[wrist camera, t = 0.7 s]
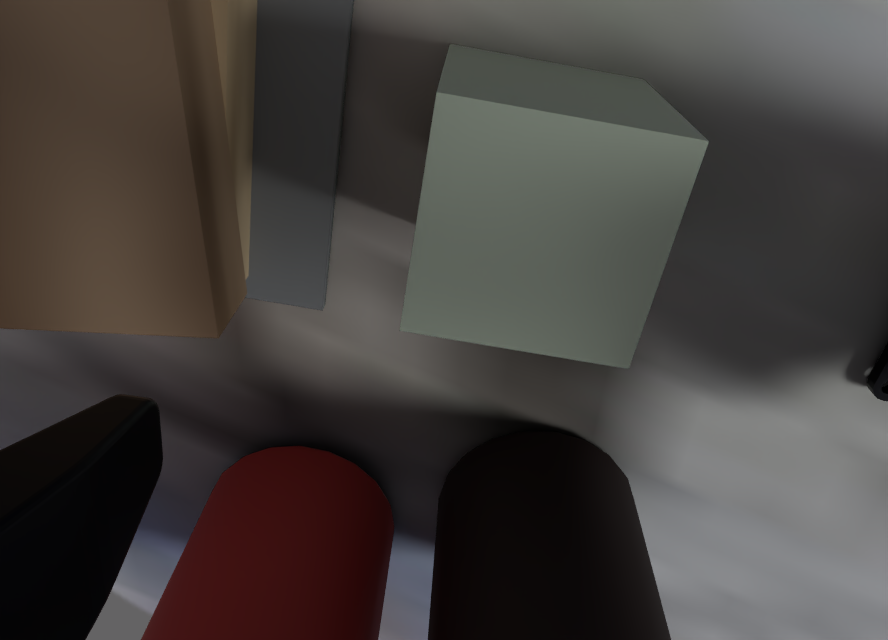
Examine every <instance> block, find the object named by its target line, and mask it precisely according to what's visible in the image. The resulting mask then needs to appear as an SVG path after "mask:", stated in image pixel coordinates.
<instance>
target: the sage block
mask: <svg viewBox="0 0 888 640" xmlns="http://www.w3.org/2000/svg"><path fill="white" fill-rule="evenodd" d="M708 143H709V141H708V140H707V139H706V138H705V137H704V136H703V135H702V134H701V133H700V132H699V131H698V130H697V129H696V128H695V127H694V126H693V125H691V124H690V123H689V122H688V121H687V120H686V119H685V118H684V117H683V116H682V115H681V114H680V113H679V112H678V111H677V110H676V109H675V108H673V107H672V106H671V105H670V104H669V103H668V102H667V101H666V100H665V99H664V98H663V97H662V96H661V95H660V94H659V93H658V92H657V91H656V90H654V89H653V88H652V87H651V86H650V85H649V84H648V83H647V82H646V81H645V80H644V79H640V78H635V77H629V76H624V75H618V74H613V73H607V72H602V71H596V70H591V69H585V68H580V67H575V66H569V65H564V64H558V63H553V62H547V61H542V60H536V59H531V58H525V57H520V56H515V55H509V54H504V53H498V52H493V51H487V50H482V49H476V48H471V47H465V46H460V45H455V44H450V45H449V49H448V52H447V56H446V60H445V63H444V67H443V71H442V74H441V78H440V81H439V85H438V89H437V92H436V99H435V105H434V112H433V118H432V125H431V131H430V137H429V144H428V150H427V157H426V163H425V170H424V176H423V182H422V189H421V195H420V202H419V208H418V214H417V221H416V227H415V234H414V240H413V247H412V253H411V259H410V266H409V272H408V279H407V285H406V292H405V298H404V304H403V311H402V317H401V324H400V330H399V331H403V332H409V333H415V334H421V335H427V336H433V337H439V338H445V339H451V340H457V341H463V342H469V343H475V344H481V345H487V346H493V347H499V348H505V349H511V350H517V351H523V352H529V353H535V354H541V355H547V356H553V357H559V358H565V359H571V360H577V361H583V362H589V363H595V364H601V365H607V366H613V367H619V368H625V369H629V367H630V364H631V361H632V359H633V356H634V353H635V350H636V347H637V344H638V342H639V339H640V336H641V333H642V330H643V327H644V325H645V322H646V319H647V316H648V313H649V310H650V308H651V305H652V302H653V299H654V296H655V293H656V290H657V288H658V285H659V282H660V279H661V276H662V273H663V271H664V268H665V265H666V262H667V259H668V256H669V254H670V251H671V248H672V245H673V242H674V239H675V237H676V234H677V231H678V228H679V225H680V222H681V220H682V217H683V214H684V211H685V208H686V205H687V202H688V200H689V197H690V194H691V191H692V188H693V185H694V183H695V180H696V177H697V174H698V171H699V168H700V166H701V163H702V160H703V157H704V154H705V151H706V149H707V146H708Z"/></svg>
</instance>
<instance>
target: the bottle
mask: <svg viewBox="0 0 888 640" xmlns="http://www.w3.org/2000/svg"><path fill="white" fill-rule="evenodd" d="M428 640H671V638H670V634H669V630H668V626H667V623H666V619H665V615H664V611H663V607H662V604H661V600H660V596H659V592H658V589H657V585H656V581H655V577H654V573H653V570H652V566H651V562H650V558H649V555H648V551H647V547H646V543H645V539H644V536H643V532H642V528H641V524H640V520H639V517H638V513H637V509H636V505H635V502H634V498H633V495H632V491H631V488H630V485H629V481H628V478H627V477H626V476H625V474H624V473H623V472H622V471H621V469H620V468H619V467H618V466H617V464H616V463H615V462H614V461H613V459H612V458H611V457H610V456H609V455H608V454H607V453H605V452H603V451H602V450H600V449H599V448H597V447H595V446H594V445H592V444H590V443H589V442H587V441H585V440H583V439H580V438H576V437H572V436H569V435H565V434H561V433H558V432H534V431H522V432H518V433H514V434H510V435H506V436H502V437H498V438H494V439H491V440H489V441H488V442H486V443H484V444H482V445H481V446H479V447H477V448H475V449H473V450H472V451H470V452H468V453H467V454H466V455H465V456H464V457H463V458H462V459H461V460H460V461H459V462H458V463H457V464H456V466H455V467H454V468H453V469H452V470H451V471H450V472H449V474H448V476H447V479H446V481H445V484H444V486H443V489H442V491H441V494H440V496H439V501H438V514H437V527H436V540H435V553H434V566H433V579H432V592H431V606H430V619H429V632H428Z"/></svg>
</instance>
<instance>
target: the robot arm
mask: <svg viewBox="0 0 888 640" xmlns="http://www.w3.org/2000/svg"><path fill="white" fill-rule="evenodd" d="M885 382H888V343H887V344H886V346H885V348H884V350H883V352H882V353H881V355H880V357H879V359H878V361H877V362H876V364H875V366H874V368H873V370H872V371H871V373H870V375H869V377H868V380H867V386H868V388H869V389H870V391H871V392H872V393H873V394H874V395H875V396H876V397H877V399H880V400H883V401H888V385H887V386H883V385H884V383H885ZM882 386H883V387H882ZM162 461H163V452H162V439H161V427H160V414H159V408H158V405H157V403H156V402H155V401H154V400H153V399H150V398H145V397H138V396H131V395H124V394H119V395H115V396H113V397H110V398H108V399H106V400H104V401H102V402H100V403H98V404H96V405H94V406H92V407H89V408H87V409H85V410H83V411H81V412H79V413H77V414H75V415H73V416H71V417H69V418H67V419H64V420H62V421H60V422H58V423H56V424H54V425H52V426H50V427H48V428H46V429H44V430H42V431H40V432H37V433H35V434H33V435H31V436H29V437H27V438H25V439H23V440H21V441H19V442H17V443H15V444H12V445H10V446H8V447H6V448H4V449H2V450H0V640H85V639H86V638H87V636H88V634H89V632H90V630H91V629H92V627H93V625H94V623H95V622H96V620H97V618H98V616H99V614H100V612H101V610H102V608H103V606H104V604H105V603H106V601H107V599H108V596H109V594H110V592H111V590H112V587H113V585H114V583H115V581H116V578H117V576H118V574H119V571H120V569H121V567H122V564H123V562H124V559H125V557H126V555H127V552H128V550H129V548H130V545H131V543H132V540H133V538H134V536H135V533H136V531H137V528H138V526H139V524H140V521H141V519H142V517H143V514H144V512H145V509H146V507H147V505H148V502H149V500H150V498H151V495H152V493H153V490H154V488H155V486H156V483H157V481H158V478H159V476H160V472H161V468H162Z"/></svg>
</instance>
